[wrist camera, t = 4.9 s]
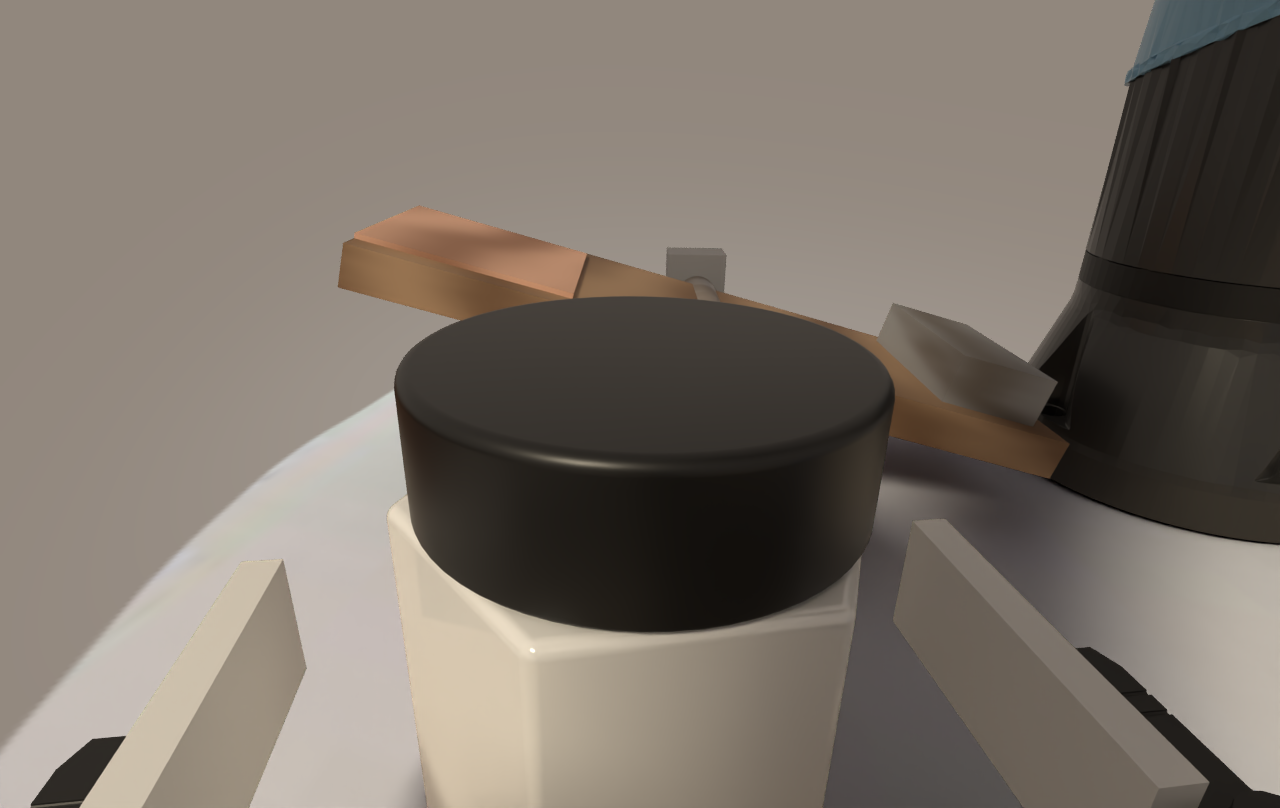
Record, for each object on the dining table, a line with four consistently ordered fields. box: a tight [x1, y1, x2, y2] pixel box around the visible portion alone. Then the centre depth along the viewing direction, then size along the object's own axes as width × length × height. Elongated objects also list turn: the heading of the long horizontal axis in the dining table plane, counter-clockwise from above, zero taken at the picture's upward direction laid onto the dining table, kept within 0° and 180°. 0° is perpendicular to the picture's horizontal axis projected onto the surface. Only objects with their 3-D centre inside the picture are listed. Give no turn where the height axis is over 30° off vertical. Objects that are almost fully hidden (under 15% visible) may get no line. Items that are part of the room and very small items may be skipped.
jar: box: [387, 296, 895, 808], centre depth 14 cm, size 9×8×12 cm
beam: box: [338, 206, 1069, 479], centre depth 30 cm, size 28×13×4 cm, turn 90°
